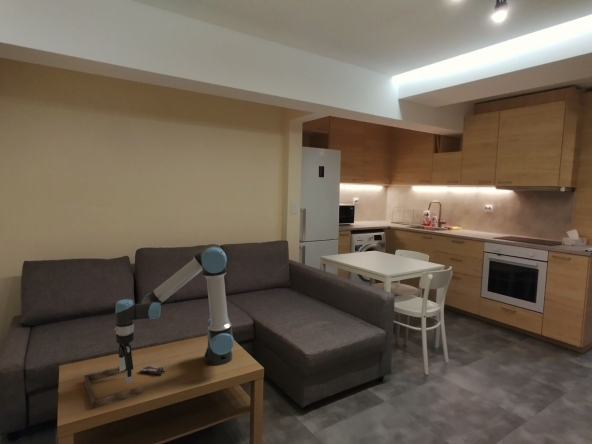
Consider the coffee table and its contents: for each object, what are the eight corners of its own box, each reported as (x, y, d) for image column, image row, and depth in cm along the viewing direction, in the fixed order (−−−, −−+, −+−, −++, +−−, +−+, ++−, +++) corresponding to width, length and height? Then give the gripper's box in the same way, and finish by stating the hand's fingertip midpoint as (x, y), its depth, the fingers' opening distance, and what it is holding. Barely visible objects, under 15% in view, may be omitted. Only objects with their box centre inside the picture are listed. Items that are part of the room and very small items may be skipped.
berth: (128, 369, 180) (128, 364, 180) (141, 394, 159) (141, 388, 159) (84, 381, 169) (83, 375, 168) (92, 410, 147) (92, 403, 147)
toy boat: (137, 372, 177) (138, 364, 177) (145, 367, 183) (145, 359, 183) (159, 376, 174) (159, 368, 173) (166, 372, 179) (167, 364, 179)
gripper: (110, 326, 173) (111, 367, 175) (121, 344, 153) (122, 390, 155) (127, 323, 177) (128, 363, 179) (140, 340, 158) (140, 385, 160)
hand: (125, 376), depth 167 cm, fingers open, 13 cm apart
